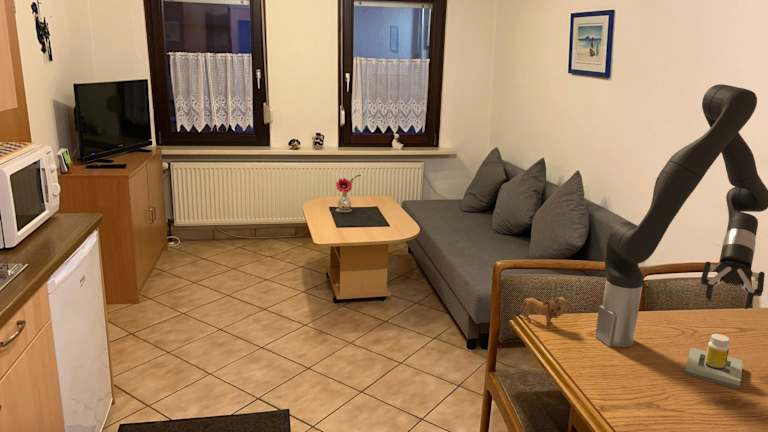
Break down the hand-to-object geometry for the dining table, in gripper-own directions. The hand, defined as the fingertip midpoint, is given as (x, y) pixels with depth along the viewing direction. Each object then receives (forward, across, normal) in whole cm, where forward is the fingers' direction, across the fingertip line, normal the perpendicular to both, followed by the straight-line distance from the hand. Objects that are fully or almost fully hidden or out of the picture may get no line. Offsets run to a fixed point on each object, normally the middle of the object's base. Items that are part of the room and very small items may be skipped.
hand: (727, 303), depth 159 cm
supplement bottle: (+17, 0, +4) cm, 17 cm away
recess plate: (+17, 0, +4) cm, 18 cm away
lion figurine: (+16, -45, +6) cm, 48 cm away
